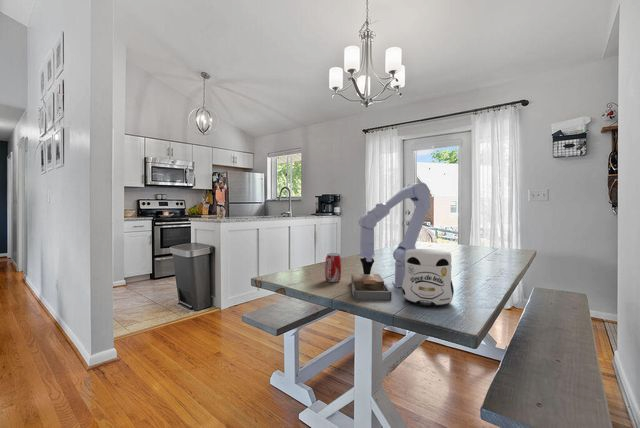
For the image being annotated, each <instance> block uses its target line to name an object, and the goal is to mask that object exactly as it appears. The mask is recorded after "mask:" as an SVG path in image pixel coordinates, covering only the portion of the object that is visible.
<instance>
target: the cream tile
mask: <svg viewBox="0 0 640 428" xmlns="http://www.w3.org/2000/svg"><path fill="white" fill-rule="evenodd" d="M361 274H362V280H363V276H371V277H374V276H373V274H374V273H370V274H364V273H361Z"/></svg>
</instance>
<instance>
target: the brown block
mask: <svg viewBox="0 0 640 428" xmlns="http://www.w3.org/2000/svg"><path fill="white" fill-rule="evenodd" d="M362 274H363V273H351V277H350V278H351V281H350V283H351V285H352V284H354V286H355V289H356V291H384V284H385V280H384V279H383V278H382V277H381V274H379V273H372V274H373V276H374V278H375V280H376V282H375V284H364V283H363V280H362Z"/></svg>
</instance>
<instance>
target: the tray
mask: <svg viewBox="0 0 640 428" xmlns="http://www.w3.org/2000/svg"><path fill="white" fill-rule="evenodd" d="M351 293H352V298H353V300H355V301H358V300H359V301H360V300H361V301H362V300H363V301H366V300H367V301H377V300H378V301H392V296H393V294H392V293H393V292H392V291H391V289H390V287H389V285H387V284H385V283H384V291H356V289H355V286H354V284H352V283H351Z"/></svg>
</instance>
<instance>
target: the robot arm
mask: <svg viewBox="0 0 640 428" xmlns="http://www.w3.org/2000/svg"><path fill="white" fill-rule="evenodd" d="M430 193H431V190H430V188H429V186H428V185H427V184H426V183H424V182H416V183H413V182H412V183H411V182H410V183H409V184H408V185H406V186H404V187H402V189H400V190H399V191H398V192H397V193H395V194H394V195H393V196H392V197H390V198H389V199H388V200H387V201H386V202H385V203H384V202H380V203H376V204H375V207H373V209H371V210H368V211H367V212H366V214H363V215H362V216H360V218H359V220H358V225H359V226H360V238H359V240H360V243H359V244H360V246H359V247H360V251H359V252H358V253H357V256H358V257H360V258H359V260H360V262H361V266H362V271H363V274H371V271H372V268H373V264H374V263H375V259H374V257H375V255H376V254H375V228H376V226H377V224H378V223H379V222H380V221H381V220H383V219H384V218H385V217H387V216H389V215H390V212H391V209H392V208H394V207H395V206H397V205H398V204H400V203H401V202H403V201H404V200H405V199H410V200H411V201H412V203H413V204H414V206H415V208H414V210H413V213H412V216H411V217H410V221H409V222H408V223H409V224H408V225H407V228H406V231H405V233H404V237H403V239H402V241H401V242H399V243H398V244H397V247H396V248H395V249H394V251H393V253H392V257H393V259H394V260H395V262H394V281H392V284H393V285H394V286H395V288H402V284H403V280H404V277H405V254H406V251H407V250H411V249H417V248H416V243H417V242H418V238H419V235H420V233H421V231H422V228H423V225H424V223H425V220H426V218H427V214H428V212H429V209H430V205H431V204H430ZM361 257H362V258H361Z"/></svg>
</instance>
